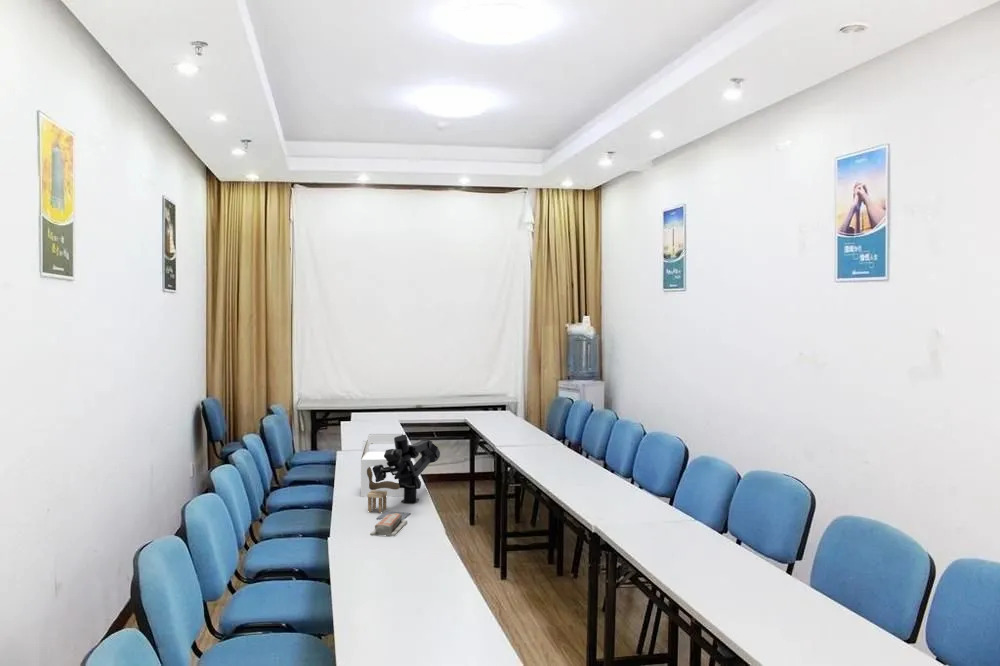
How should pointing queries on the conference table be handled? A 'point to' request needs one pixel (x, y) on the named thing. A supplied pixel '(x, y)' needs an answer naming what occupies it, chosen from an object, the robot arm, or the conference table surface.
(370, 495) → the stool
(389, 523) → the packaged product
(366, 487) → the gable box
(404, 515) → the mat
